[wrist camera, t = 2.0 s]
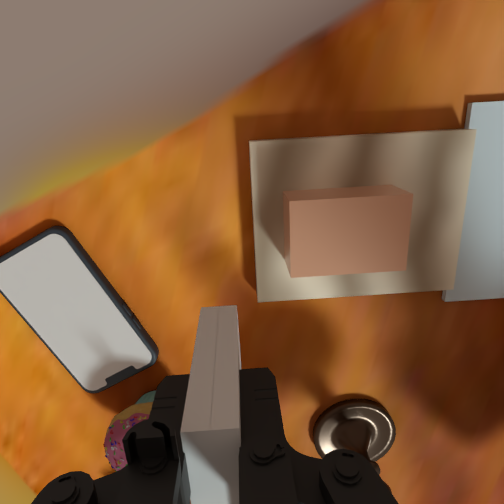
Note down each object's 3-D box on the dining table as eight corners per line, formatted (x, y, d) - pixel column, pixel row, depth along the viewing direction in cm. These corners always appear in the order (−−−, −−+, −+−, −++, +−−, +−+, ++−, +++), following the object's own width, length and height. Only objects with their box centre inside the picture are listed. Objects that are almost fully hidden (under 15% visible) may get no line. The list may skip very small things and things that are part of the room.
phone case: (-11, 263, 34) (94, 388, 39) (-23, 270, 33) (88, 399, 38) (67, 218, 33) (165, 352, 38) (58, 222, 32) (162, 361, 36)
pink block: (391, 184, 31) (413, 193, 27) (386, 253, 33) (406, 270, 29) (282, 191, 31) (289, 201, 27) (284, 259, 33) (290, 278, 29)
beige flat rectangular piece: (462, 128, 31) (476, 129, 30) (442, 280, 36) (453, 289, 34) (248, 140, 31) (249, 141, 29) (256, 292, 36) (257, 302, 34)
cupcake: (165, 361, 38) (135, 464, 27) (215, 414, 40) (208, 528, 29) (102, 403, 39) (48, 518, 28) (154, 451, 42) (125, 574, 31)
